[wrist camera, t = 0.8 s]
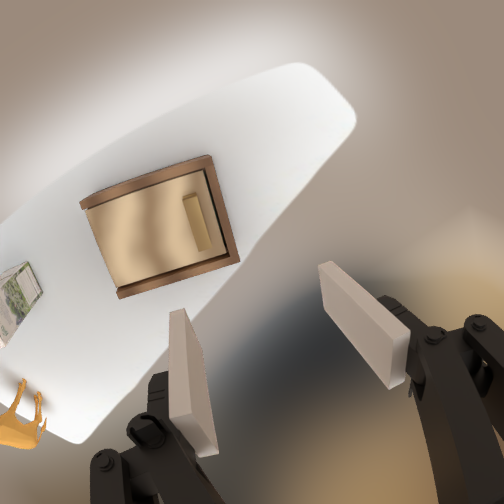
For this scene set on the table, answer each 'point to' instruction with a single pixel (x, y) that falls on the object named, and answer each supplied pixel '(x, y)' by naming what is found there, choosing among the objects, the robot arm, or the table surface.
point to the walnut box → (218, 206)
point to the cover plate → (157, 229)
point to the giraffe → (20, 425)
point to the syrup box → (16, 299)
